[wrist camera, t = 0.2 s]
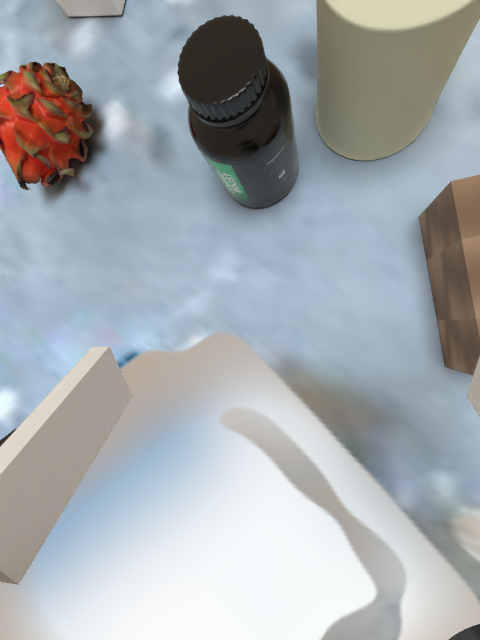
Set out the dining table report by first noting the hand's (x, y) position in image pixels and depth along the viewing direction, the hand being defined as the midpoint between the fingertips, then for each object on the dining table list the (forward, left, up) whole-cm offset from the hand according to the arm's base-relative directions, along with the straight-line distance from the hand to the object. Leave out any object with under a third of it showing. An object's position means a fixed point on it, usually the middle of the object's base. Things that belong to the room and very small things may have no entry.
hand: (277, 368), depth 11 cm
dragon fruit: (+24, +21, -16) cm, 36 cm away
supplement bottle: (+16, +1, -16) cm, 22 cm away
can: (+19, -9, -16) cm, 26 cm away
